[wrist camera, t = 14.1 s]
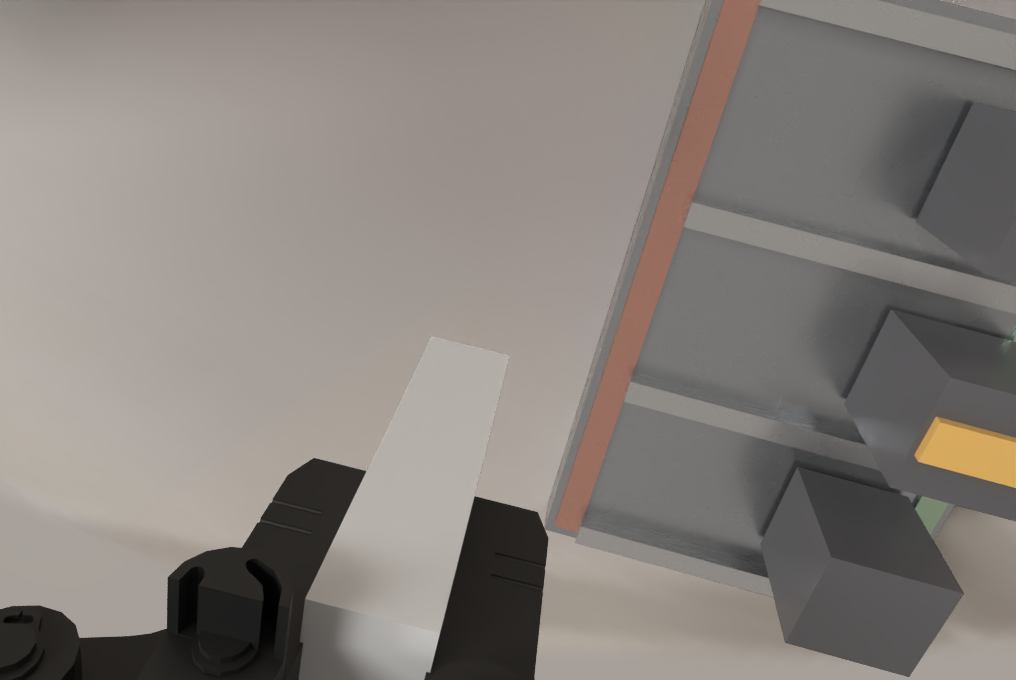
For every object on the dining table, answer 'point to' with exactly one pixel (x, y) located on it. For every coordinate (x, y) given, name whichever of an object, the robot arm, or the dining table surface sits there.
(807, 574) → the block
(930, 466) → the block
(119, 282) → the dining table surface
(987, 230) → the breaker
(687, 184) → the panel
